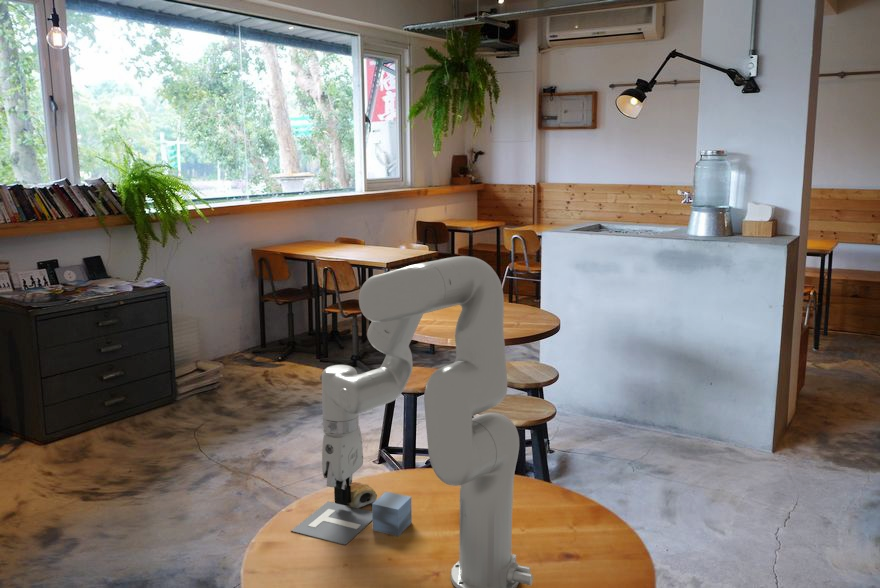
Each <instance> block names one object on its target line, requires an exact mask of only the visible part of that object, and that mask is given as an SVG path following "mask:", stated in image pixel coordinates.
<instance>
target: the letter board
mask: <svg viewBox="0 0 880 588" xmlns="http://www.w3.org/2000/svg"><path fill="white" fill-rule="evenodd" d="M371 522H373V520H372V511H371V510H367V509H362V508H353V507H351V506H350V505H347V506H345V505H341V504H336V503H335V502H332V501H327V502H324V504H323V505H321V506H320V507H319V508H318V509H317V510H315V511H314V512H313V513H311V514H310V515H309V516H308V517H307V518H305V519H304V520H302V522H300V523H299V524H297V525H296V526H295V527H294V528H292V529H291V530H290V532H291V531H293V532H292V533H295V532H296V534H299V533H300V534H299V535H304V536H308V537H311V538H316V539H320V540H324V541H326V542H327V541H328V542H330V543H335V544H339V545H343V546H347V545H348V543H350V542H351V541H352V540H353V539H354V538H355V537H357V535H358V534H359V533H361V532H362V531H363V530H364V529H365V528H366V527H367V526H368V525H369V524H370V523H371Z"/></svg>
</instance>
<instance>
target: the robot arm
mask: <svg viewBox="0 0 880 588" xmlns="http://www.w3.org/2000/svg"><path fill="white" fill-rule="evenodd" d="M504 297H505V296H504V290H503V285H502V281H501V280H500V278H499V276H498V274H497V273H496V271H495V270H494V269H493V267H492V266H491V265H490V264H488V263H487V262H486V261H484V260H482V259H481V258H477V257H475V256H468V255H460V256H458V255H457V256H451V257H446V258H440V259H436V260H431V261H426V262H420V263H415V264H411V265H408V266H404V267H401V268H398V269H394V270H391V271H390V270H389V271H388V272H384V273H380V274H375V275H372V276H370V277H369V278H367V280H366V281H364V283H363V284H362V286H361V288H360V291H359V294H358V305H359V309H360V311H361V313H362V315H363V316H364V317H365V319H367V320H368V321H370V322H371V323H370V324H369V326H368V329H367V332H366V335H367V340H368V341H369V344H370V345H371V346H372V347H373V348H374V349H376V350H377V351H379V352H380V353H383V355H385V357H384V360H383V362H382V364H381V365H380V367H378V368H376V369H372V370H369V371H366V372H362V373H358V372H357V370H356V368H355V367H353V366H351V365H348V364H335V365H330V366H327V367H326V368H324V369H323V371H322V372H321V400H322V401H321V403H322V407H321V408H322V432H323V433H324V434H323V439H322V449H321V451H322V452H321V470H322V471H321V472H322V476H323V478H324V479H326V487H329V488H334V491H333V493H334V494H333V495H334V503H336V504H341V505H345V506H349V503H350V502H351V486H349V485H351V484H352V483H353V475H354V474H355V473H356V472H357V471H358V470H360V469H361V468H362V467H363V465H364V449H363V447H364V446H363V439H362V431H361V428H360V425H359V424H360V423H359V420H360V419H359V414H362V413H365V412H368V411H370V410H373V409H376V408H378V407H381V406H384V405H386V404H389V403H390V404H391V403H392V402H394V401H396V399H398V398H399V397H400V395H401V394H403V392H404V390H405V387H406V386H407V384H408V382H409V380H410V377H411V375H412V372H413V364H414V363H413V354H412V351H411V348H410V344H411V341H412V339H413V338H414V335H415V333H416V331H417V329H418V326H419V325H420V322H421V320H422V318H423V316H424V314H428V313H429V314H430V313H434V312H436V311H439V310H444V309H448V308H452V307H455V306H459V307H461V311H460V314H459V316H458V318H457V322H456V326H455V331H454V332H455V334H454V341H455V360H454V362H453V363H450V364H448V365H445V366H441V367H440V368H438V369H436V370H435V371H433V373H432V374H431V375H430V376H429V378H428V380H427V382H426V386H425V388H424V397H423V400H424V402H423V403H424V417H425V426H426V427H425V428H426V439H427V448H428V449H427V451H428V457H429V461H430V465H431V467H432V470H433V472H434V474H435V475H436V477H437V478H438V479H439V480H440V481H442V483H444V484H446V485H448V486H453V487H458V486H459V533H458V534H459V536H458V537H459V541H458V542H459V544H458V545H459V549H458V550H459V551H458V552H459V553H458V554H459V555H458V556H459V557H458V558H459V560H458V561H457V562H456V563H454V564H453V566H452V567H451V570H450V581H451V583H452V584H453V587H455V588H517V587H518V586H519V583H520V584H523V585H526V586H527V585H528V586H532V584H533V580H534V575H533V573H531V566H526V565H520V564H519V563H518V562H517V554H514V553H512V544H513V543H512V541H513V540H512V539H513V536H512V535H513V503H514V501H513V500H514V480H515V471H516V466H517V462H518V457H519V451H520V435H519V432H518V428H517V427H516V425H515V423H514V421H512V420H511V419H510V418H509V417H507V416H506V415H504V414H501V413H498V412H486V413H485V411H489V410H490V409H492V408H494V407H497V406H498V405H500V404H501V403H502V402H503V401H504V399H505V398H506V396H507V392H508V375H507V372H508V371H507V359H506V344H505V336H504V335H505V334H504V312H505V310H504V309H505V306H504V305H505V300H504V299H505V298H504ZM483 412H484V413H483ZM481 413H482V414H481Z"/></svg>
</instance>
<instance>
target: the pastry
mask: <svg viewBox="0 0 880 588" xmlns="http://www.w3.org/2000/svg"><path fill="white" fill-rule="evenodd" d="M349 486H351V502H350V503H349V504H348V506H350V507H353V508H359V509H361V508H363V507H365V506H367V505H372V504H373V503H374V502H375V501H376V500H377V499H378V494H377V493H376V491H375V490H374V489H373V488H372V486H370V485H369V484H367V483H361V482H356V481H355V482H353V481H352V484H351V485H349Z"/></svg>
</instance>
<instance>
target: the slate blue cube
mask: <svg viewBox="0 0 880 588" xmlns="http://www.w3.org/2000/svg"><path fill="white" fill-rule="evenodd" d="M371 507H372V509H371V510H372V531H374V532H379V533H383V534H387V535H391V536H395V537H399V536H400V535H401V534H403V532H404V531H406V529H407V528H408V527H409V526H410V525H411V524H412V518H413V517H412V516H413V515H412V496H408V495H405V494H404V495H403V494H399V493H394V492H390V491H384V493H383V494H382V495H381V496H379V497H377V499H376V500H375V502H373V503H371Z"/></svg>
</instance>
